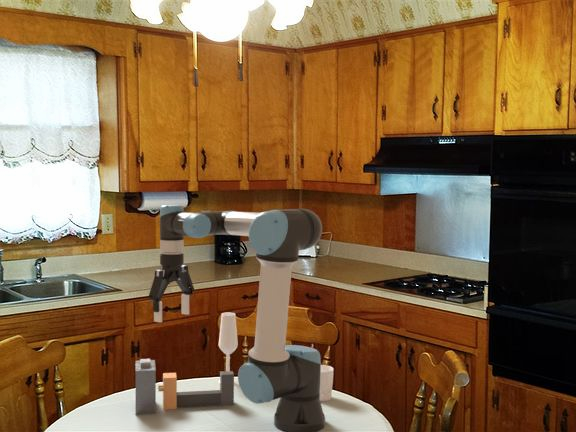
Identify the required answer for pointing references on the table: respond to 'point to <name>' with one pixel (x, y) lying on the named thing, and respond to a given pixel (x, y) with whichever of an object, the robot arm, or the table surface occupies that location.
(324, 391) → the white cup
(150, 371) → the grey u-shaped bracket
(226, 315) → the champagne flute
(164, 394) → the grey orange-ended bar
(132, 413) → the table surface
